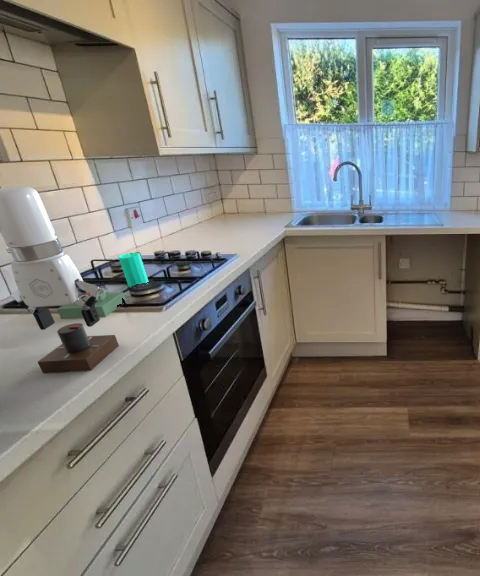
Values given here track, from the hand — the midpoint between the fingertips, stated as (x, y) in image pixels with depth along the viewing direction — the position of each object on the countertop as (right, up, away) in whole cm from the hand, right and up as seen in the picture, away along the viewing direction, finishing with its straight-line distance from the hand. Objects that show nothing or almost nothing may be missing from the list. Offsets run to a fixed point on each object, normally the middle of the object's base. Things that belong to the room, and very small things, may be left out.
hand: (71, 325), depth 79 cm
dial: (0, -5, +2) cm, 6 cm away
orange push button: (-16, +6, +24) cm, 30 cm away
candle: (-15, +9, +44) cm, 47 cm away
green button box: (-16, +2, +26) cm, 31 cm away
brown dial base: (0, -8, +3) cm, 9 cm away
